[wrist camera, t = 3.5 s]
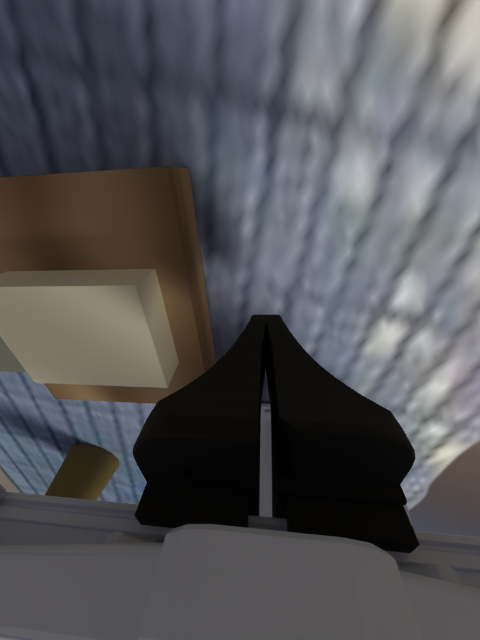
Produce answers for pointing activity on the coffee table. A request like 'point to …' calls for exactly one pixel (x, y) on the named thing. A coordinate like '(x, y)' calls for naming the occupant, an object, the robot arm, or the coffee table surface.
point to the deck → (116, 251)
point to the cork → (83, 473)
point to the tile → (88, 327)
